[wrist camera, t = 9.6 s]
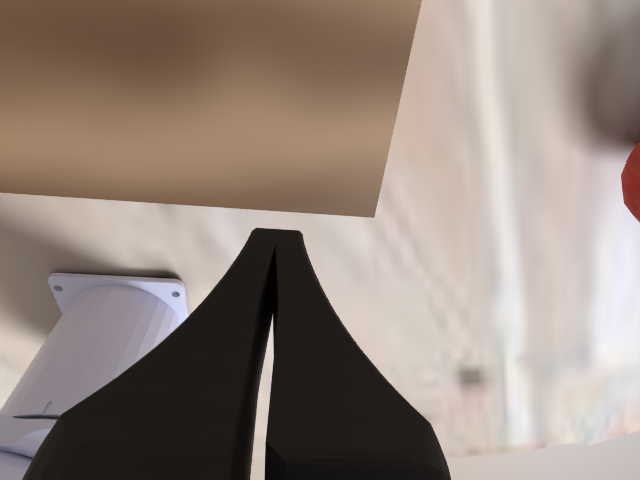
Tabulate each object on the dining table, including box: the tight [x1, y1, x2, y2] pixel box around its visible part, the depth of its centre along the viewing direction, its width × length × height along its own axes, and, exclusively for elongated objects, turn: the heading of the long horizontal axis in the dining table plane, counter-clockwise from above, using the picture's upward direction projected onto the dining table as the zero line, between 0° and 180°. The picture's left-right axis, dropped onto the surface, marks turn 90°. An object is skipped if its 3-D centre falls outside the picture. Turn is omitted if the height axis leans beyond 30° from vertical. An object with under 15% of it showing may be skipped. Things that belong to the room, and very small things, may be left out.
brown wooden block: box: [0, 0, 422, 218], centre depth 14 cm, size 12×20×4 cm, turn 84°
